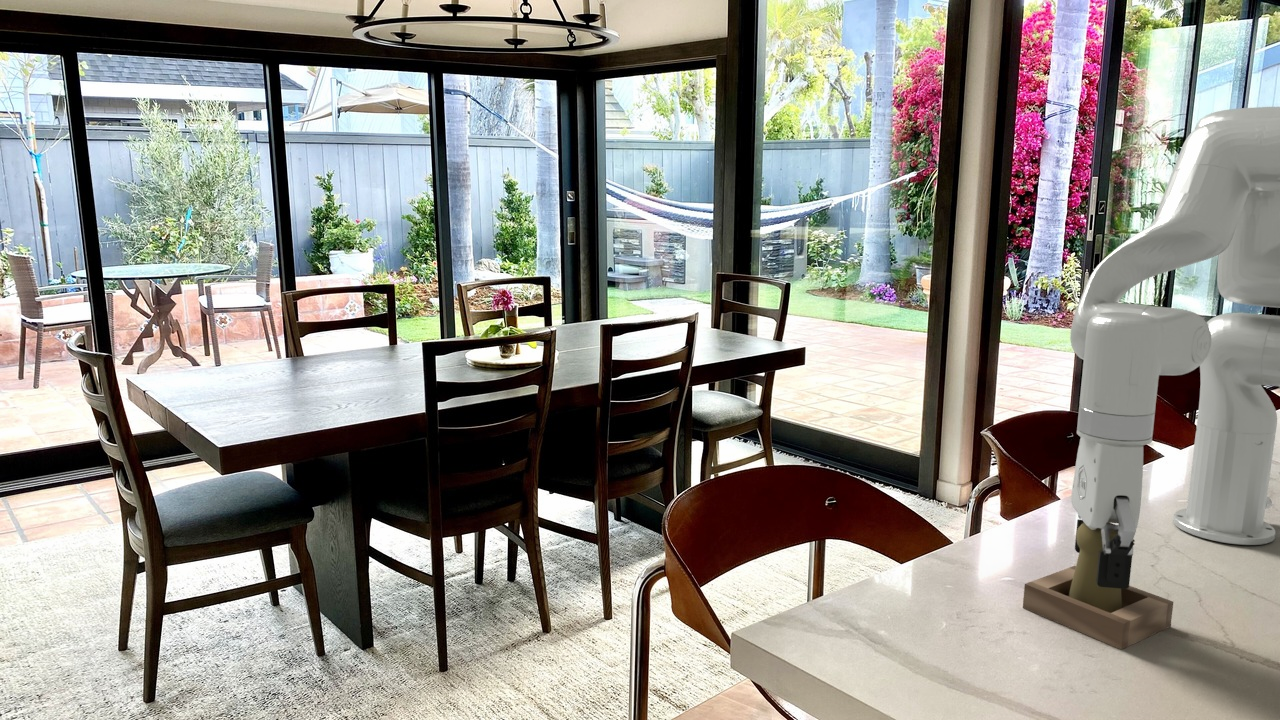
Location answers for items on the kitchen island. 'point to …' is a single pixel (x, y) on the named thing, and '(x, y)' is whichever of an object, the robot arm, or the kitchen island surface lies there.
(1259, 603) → the kitchen island surface
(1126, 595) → the walnut holder
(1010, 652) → the kitchen island surface
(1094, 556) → the tan rounded tapered piece
